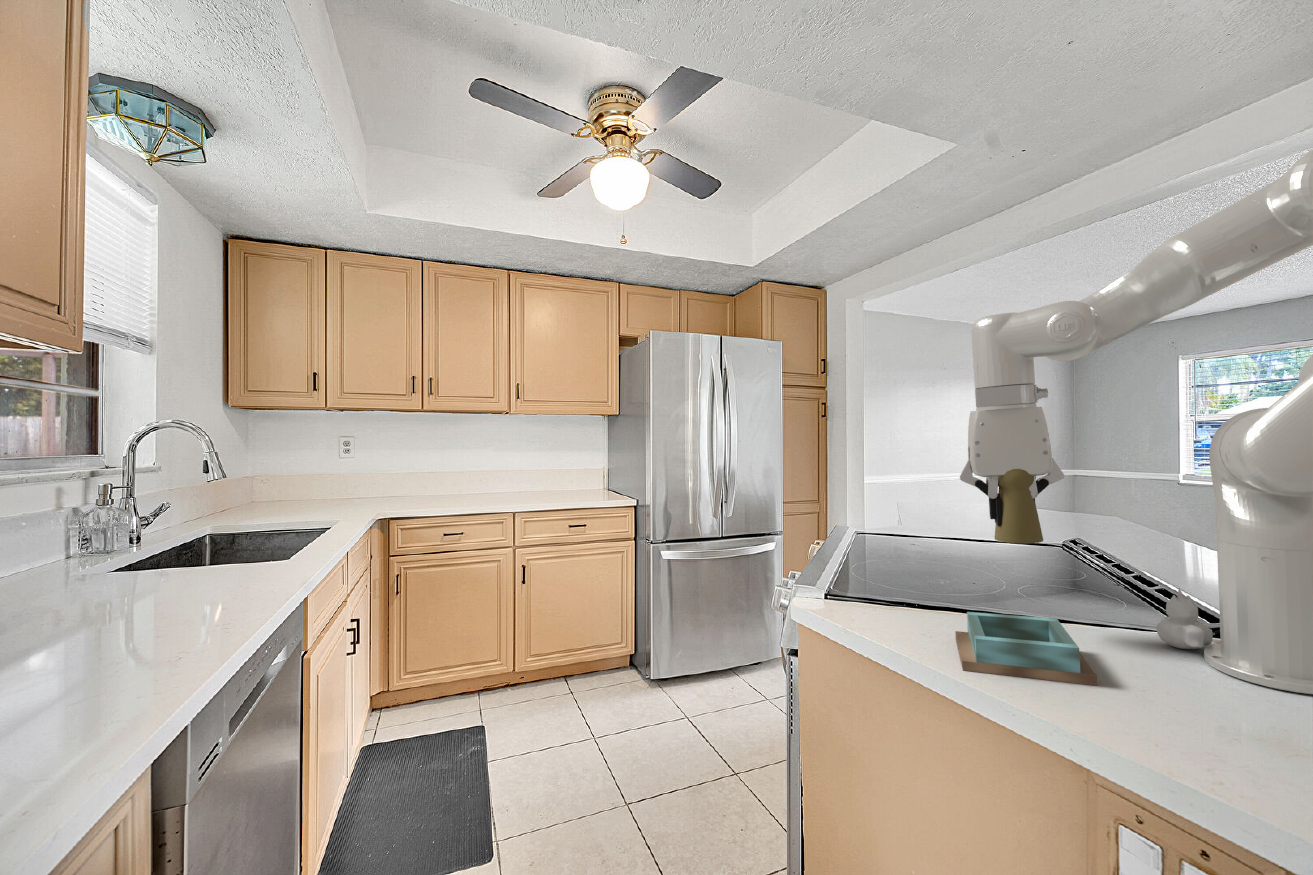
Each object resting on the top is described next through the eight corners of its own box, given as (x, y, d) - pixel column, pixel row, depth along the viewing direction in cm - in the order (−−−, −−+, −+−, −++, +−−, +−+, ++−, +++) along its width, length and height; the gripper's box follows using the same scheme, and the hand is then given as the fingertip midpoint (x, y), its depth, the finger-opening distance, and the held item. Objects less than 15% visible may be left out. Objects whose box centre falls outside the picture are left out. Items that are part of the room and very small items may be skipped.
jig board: (1072, 650, 76) (1070, 619, 76) (1097, 685, 66) (1096, 650, 66) (955, 639, 82) (954, 610, 82) (962, 670, 72) (961, 637, 71)
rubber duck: (1196, 641, 77) (1194, 583, 77) (1226, 661, 70) (1224, 598, 70) (1148, 638, 79) (1145, 582, 78) (1173, 657, 72) (1170, 595, 72)
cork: (1034, 535, 84) (1029, 462, 84) (1050, 543, 78) (1045, 464, 78) (989, 535, 85) (984, 464, 85) (1001, 543, 80) (997, 466, 80)
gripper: (1065, 395, 82) (1073, 520, 82) (941, 404, 89) (948, 520, 89) (1080, 393, 75) (1088, 529, 75) (944, 403, 82) (952, 528, 82)
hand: (1012, 523), depth 82 cm, fingers closed on cork, 2 cm apart
